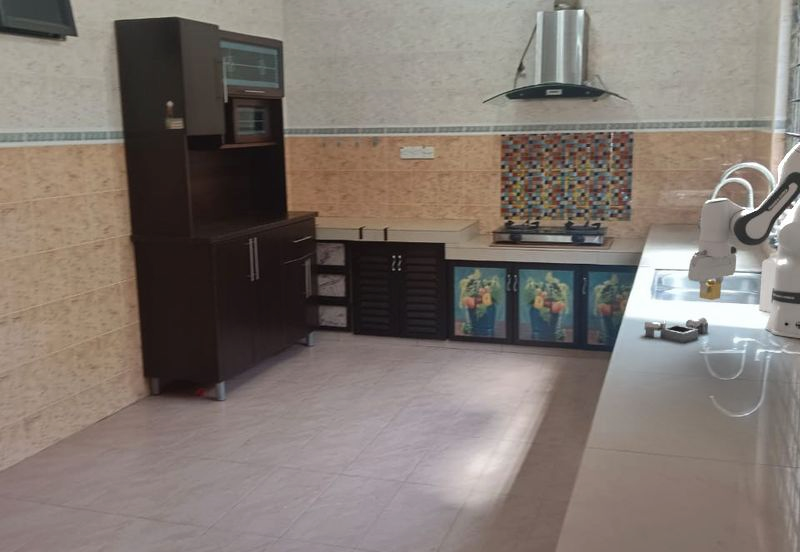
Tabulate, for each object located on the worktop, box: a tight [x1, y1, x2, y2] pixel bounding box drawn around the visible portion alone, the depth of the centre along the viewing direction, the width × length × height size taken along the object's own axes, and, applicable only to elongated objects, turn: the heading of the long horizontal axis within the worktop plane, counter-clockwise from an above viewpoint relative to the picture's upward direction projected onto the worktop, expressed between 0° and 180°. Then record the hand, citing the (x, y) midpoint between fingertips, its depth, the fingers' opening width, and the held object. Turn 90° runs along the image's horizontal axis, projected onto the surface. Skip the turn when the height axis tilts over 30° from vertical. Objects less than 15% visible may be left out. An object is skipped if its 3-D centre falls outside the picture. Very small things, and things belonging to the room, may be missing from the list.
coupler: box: [698, 279, 722, 301], centre depth 260 cm, size 4×4×6 cm
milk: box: [758, 252, 777, 313], centre depth 301 cm, size 6×6×22 cm
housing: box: [659, 324, 699, 344], centre depth 266 cm, size 8×8×3 cm
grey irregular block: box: [685, 317, 709, 334], centre depth 273 cm, size 8×4×5 cm, turn 129°
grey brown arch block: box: [644, 321, 667, 338], centre depth 269 cm, size 6×4×5 cm, turn 74°
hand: (710, 291), depth 260 cm, fingers closed on coupler, 4 cm apart
